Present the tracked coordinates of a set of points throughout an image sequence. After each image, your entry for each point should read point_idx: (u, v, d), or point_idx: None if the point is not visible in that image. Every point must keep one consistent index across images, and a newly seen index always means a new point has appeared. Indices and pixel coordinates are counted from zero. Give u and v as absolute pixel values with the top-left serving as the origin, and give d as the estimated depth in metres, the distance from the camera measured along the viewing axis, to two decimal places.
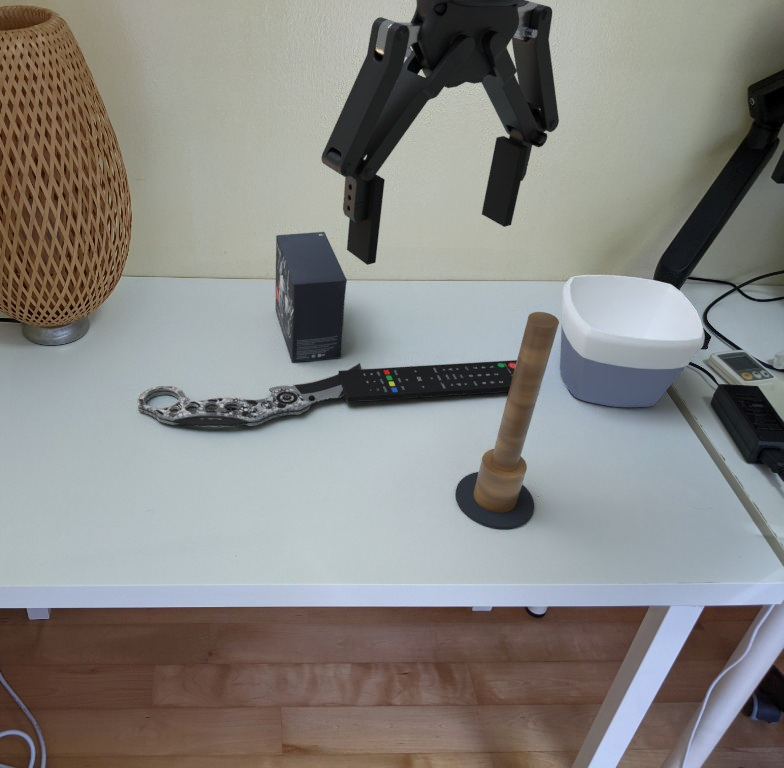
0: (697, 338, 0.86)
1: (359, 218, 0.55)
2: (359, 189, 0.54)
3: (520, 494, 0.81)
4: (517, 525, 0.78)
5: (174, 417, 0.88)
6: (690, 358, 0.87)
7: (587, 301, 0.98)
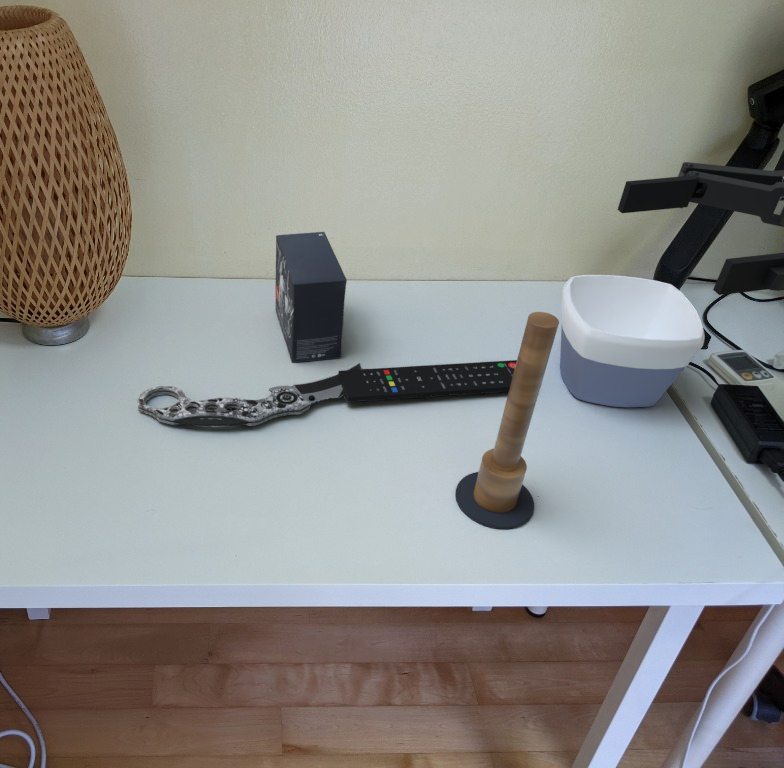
0: (697, 338, 0.86)
1: None
2: None
3: (520, 494, 0.81)
4: (517, 525, 0.78)
5: (174, 417, 0.88)
6: (690, 358, 0.87)
7: (587, 301, 0.98)
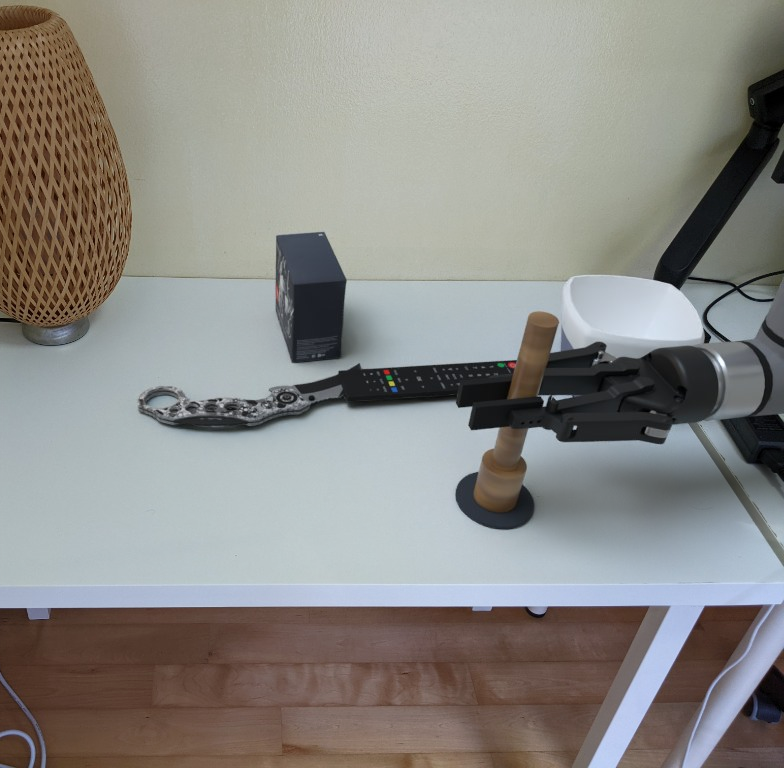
0: (697, 338, 0.86)
1: None
2: None
3: (520, 494, 0.81)
4: (517, 525, 0.78)
5: (174, 417, 0.88)
6: None
7: (587, 301, 0.98)
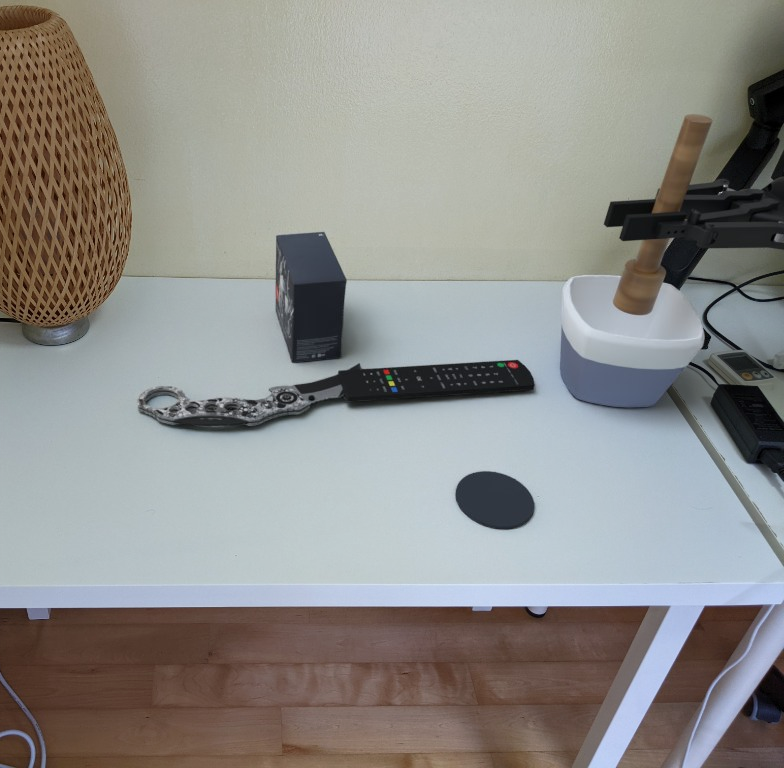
0: (697, 338, 0.86)
1: None
2: None
3: (520, 494, 0.81)
4: (517, 525, 0.78)
5: (174, 417, 0.88)
6: (690, 358, 0.87)
7: (587, 301, 0.98)
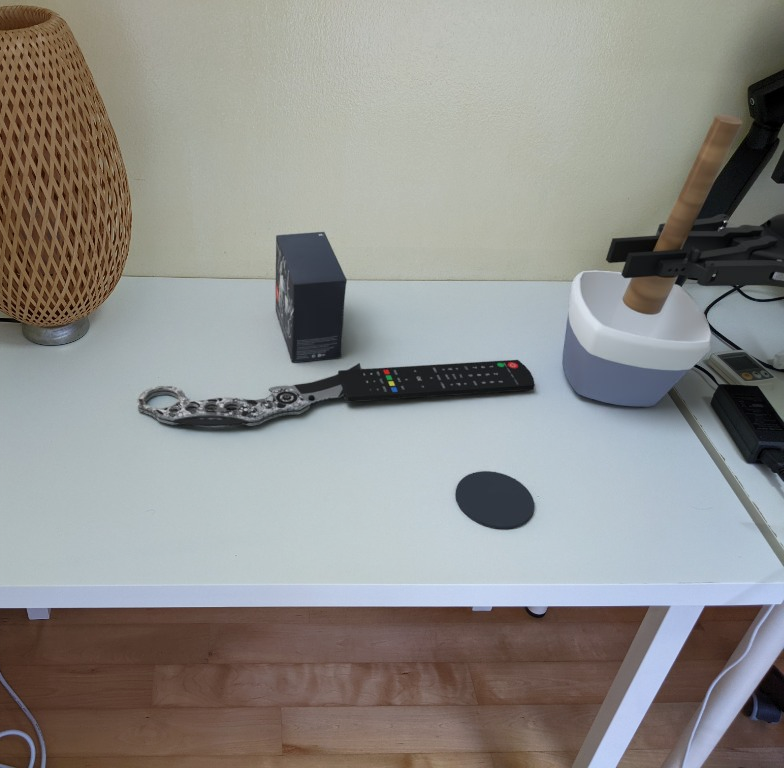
0: (705, 341, 0.86)
1: None
2: None
3: (520, 494, 0.81)
4: (517, 525, 0.78)
5: (174, 417, 0.88)
6: (696, 361, 0.87)
7: (594, 297, 0.97)
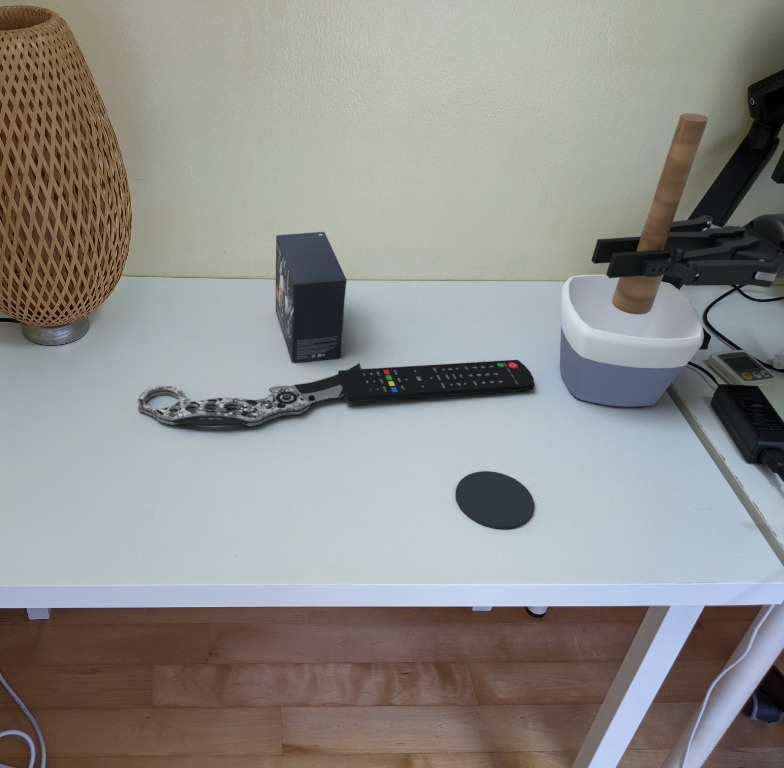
0: (696, 337, 0.86)
1: None
2: None
3: (520, 494, 0.81)
4: (517, 525, 0.78)
5: (174, 417, 0.88)
6: (689, 357, 0.87)
7: (586, 301, 0.98)
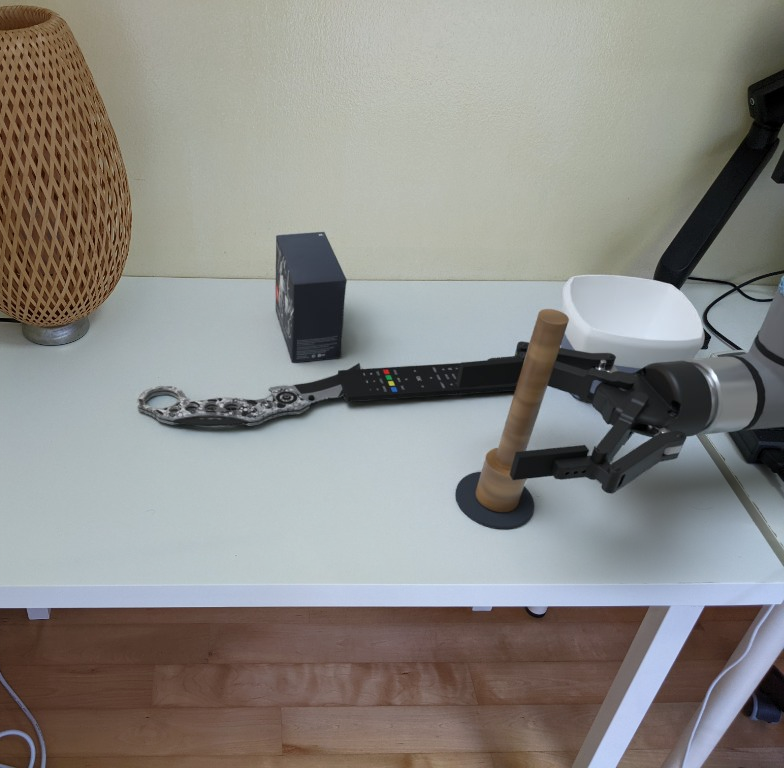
0: (697, 338, 0.86)
1: None
2: (510, 358, 0.80)
3: None
4: (517, 525, 0.78)
5: (174, 417, 0.88)
6: (690, 358, 0.87)
7: (587, 301, 0.98)
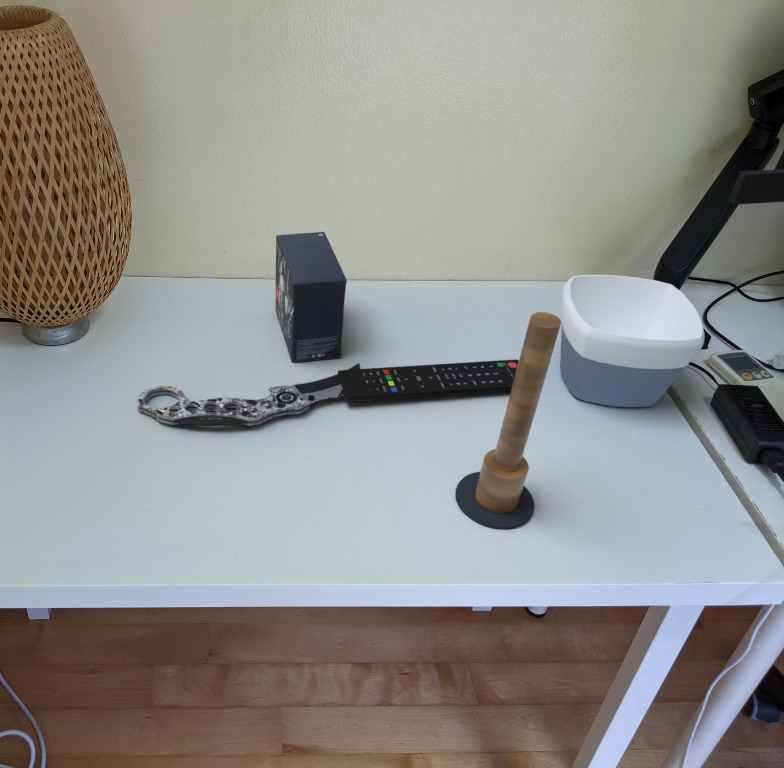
0: (697, 338, 0.86)
1: None
2: None
3: None
4: (517, 525, 0.78)
5: (174, 417, 0.88)
6: (690, 358, 0.87)
7: (587, 301, 0.98)
